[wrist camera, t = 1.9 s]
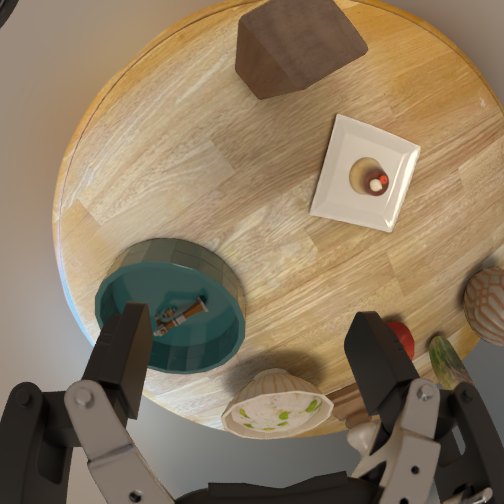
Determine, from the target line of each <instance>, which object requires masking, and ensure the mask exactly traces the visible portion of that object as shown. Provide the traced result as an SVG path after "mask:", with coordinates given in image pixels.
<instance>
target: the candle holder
mask: <svg viewBox="0 0 504 504" xmlns="http://www.w3.org/2000/svg"><path fill="white" fill-rule="evenodd" d="M326 397H327V398H328V399H329V400H330V401H331V402H332V403H333V404H334V406H333V409H332V414H333V415H334V416H335V417H336V418H338V419H339V420H340V421H342V420H346V422H345V425H346V427H347V428H349V429H351V430H350V431H349V432H348V434H347V441H348V443H349V444H350V445H351V446H352V447H354V448H355V449H357V450H358V451H359V452H360V453H361V460H360V461H362V459H363V457H364V455H365V453H366V451H367V448H368V446H369V443H370V441H371V438H372V436H373V433H374V431H375V428H376V425H377V424H376V423H374V422H370V421H371V419H372V416H368V413H367V410H366V407H365V404H364V402H363V399H362V396H361V393H360V391H359V388H358V385H357V383H355V384H353V385H350V386H348V387H346V388H343V389H341V390H339V391H336V392H334V393H331V394H329V395H327V396H326ZM359 464H360V463H359Z"/></svg>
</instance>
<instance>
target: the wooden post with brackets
mask: <svg viewBox="0 0 504 504" xmlns="http://www.w3.org/2000/svg"><path fill="white" fill-rule="evenodd" d="M196 298H197V299H198V300H197V301H196V302H195V303H194V304H193V305H192V306H190V307H189V308H188V309H187V310H185V311H184V312H180V313H179V314H178V315H176V316H175V317H174V318H173V317H172V318H171V320H170V321H168V322H163V321H161V320H162V319H165V318H168V319H169V318H170V317H171V316H173V315H175V312H176V311H177V310H176V308H173V309H171V307H170V309H169V310H167V311H166V312H165V310H164V316H163V315H162V317H160V318H161V320H160V318H159V317H158V315H155V316H154V319H155V321H156V323H157V325H158V327H157V328H155V329H156V331H154V335H155V336H158V335H159V336H161V335H164V334H166V332H168V331H167V330H169V329H171V328H172V327H174V326H178V325H177V324H179V325H180V324H181V323H182V322H184V321H186V319H187V318H188V317H190V316H192V315H194V314H196V313H198V312H201V311H203V310H205V312H207V311H208V310H207V308H206V307H205V305H204V304H203V302H202V300H201V299H200V297H199V296H198V297H196Z"/></svg>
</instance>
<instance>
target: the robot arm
mask: <svg viewBox="0 0 504 504" xmlns="http://www.w3.org/2000/svg"><path fill="white" fill-rule="evenodd" d="M5 2H6V0H0V11H1V9H2V7H3V5H4V4H5ZM152 344H153V332H152V326H151V320H150V313H149V307H148V304H147V303H140V302H130V301H128V302H127V303H126V305H125V307H124V310H123V312H122V314H113V315H112V316H111V317H110V318H109V319H108V320H107V321H106V322H105V323H104V325H103V327H102V330H101V332H100V335H99V337H98V339H97V341H96V344H95V346H94V349H93V351H92V354H91V356H90V359H89V361H88V364H87V367H86V369H85V372H84V375H83V377H82V379H81V380H80V381H77V382H75V383H73V384H72V385H71V386H70V387H69V388H68V389H67V390H66V391H58V392H41V390H40V389H39V388H38V386H37V385H35V384H33V383H31V382H23V383H20V384H18V385H16V386H15V387H14V388H13V389H12V391H11V393H10V395H9V398H8V401H7V403H6V406H5V409H4V412H3V415H2V418H1V422H0V504H66V498H67V488H68V480H69V472H70V465H71V458H72V451H73V447H83V450H84V452H85V454H86V456H87V458H88V462H87V466H88V469H89V471H90V473H91V475H92V477H93V479H94V481H95V483H96V484H97V486H98V488H99V490H100V492H101V493H102V495H103V496H104V498H105V500H106V502H107V503H108V504H426V501H427V498H428V495H429V492H430V489H431V485H432V482H433V478H434V480H435V484H436V487H437V491H438V495H439V499H440V503H441V504H504V448H503V446H502V443H501V440H500V438H499V435H498V433H497V431H496V428H495V426H494V424H493V422H492V419H491V417H490V415H489V413H488V411H487V409H486V406H485V404H484V402H483V400H482V398H481V396H480V394H479V392H478V391H477V389H476V388H475V387H474V386H473V385H472V384H470V383H468V382H461V383H459V384H458V385H457V386H456V387H455V388H454V389H453V390H441V389H438V387H437V386H436V385H435V384H434V383H433V382H432V381H430V380H428V379H426V378H420V376H419V374H418V372H417V371H416V369H415V367H414V365H413V363H412V361H411V359H410V358H409V356H408V354H407V352H406V350H404V347H403V345H402V343H400V340H399V338H398V336H397V335H396V333H395V331H394V330H393V329H392V328H391V327H389V326H388V325H387V324H386V323H383V322H382V320H381V318H380V316H379V315H378V313H377V312H375V311H365V312H357V313H356V315H355V317H354V319H353V322H352V324H351V326H350V329H349V331H348V333H347V335H346V337H345V341H344V350H345V354H346V356H347V359H348V362H349V364H350V367H351V369H352V372H353V375H354V377H355V380H356V383H357V385H358V388H359V391H360V393H361V396H362V399H363V402H364V404H365V407H366V410H367V413H368V416H373V415H378V414H379V415H380V418H381V419H380V420H379V421H378V423H377V425H376V428H375V431H374V433H373V436H372V438H371V441H370V443H369V446H368V448H367V451H366V453H365V455H364V457H363V459H362V461H361V462H360V464H359V465H358V466H357V467H356V469H355V470H354V472H353V473H352V475H351V477H347V474H346V471H342V472H337V473H332V474H327V475H321V476H315V477H313V478H311V479H308V480H305V481H303V482H300V483H297V484H294V485H292V486H289V487H286V488H272V487H264V486H259V485H253V484H247V483H208V485H209V486H208V488H204V489H199V490H196V491H192V492H190V493H187V494H185V495H183V496H181V497H179V498H177V499H176V500H175V499H174V498H173V497H172V496H171V494H170V493H169V492H168V491H167V489H166V488H165V487H164V485H163V484H162V483H161V481H160V480H159V479H158V477H157V476H156V475H155V473H154V472H153V471H152V469H151V468H150V466H149V465H148V464H147V462H146V460H145V459H144V458H143V456H142V455H141V453H140V451H139V450H138V448H137V447H136V445H135V443H134V442H133V440H132V439H131V437H130V435H129V433H128V432H127V430H126V425H127V420H128V418H130V419H135V420H137V417H138V411H139V406H140V400H141V395H142V391H143V386H144V381H145V376H146V372H147V367H148V363H149V358H150V354H151V350H152ZM457 425H458V427H459V429H460V432H461V435H462V437H463V440H464V442H465V445H466V448H465V452H464V454H463V455H461V454H460V451H459V448H458V446H457V443H456V440H455V438H454V435H453V432H452V429H454V428H455V427H456V426H457Z"/></svg>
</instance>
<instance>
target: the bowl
mask: <svg viewBox="0 0 504 504" xmlns="http://www.w3.org/2000/svg"><path fill="white" fill-rule="evenodd" d="M333 406H334V404H333V403H332V402H331V401H330V400H329V399H328V398H327V397H326V396H325V395H324V394H323V393H322V392H321V391H319V390H318V389H317V388H316V387H315V386H314V385H313V384H312V383H310V382H308V381H305V380H303V379H301V378H299V377H296V376H291V374H290V373H289V372H288V371H287V370H283V369H279V368H275V369H267V370H264V371H262V372H260V373H258V374H257V375H256V376H255V377H254V381H251V382H250V383H249V384H248V385H247V386H246V387H245V388H243V389H242V390H241V391H240V392H239V393H238V394H237V395H236V396H235V398H234V399H233V400H232V401H231V402H230V403H229V404H228V406H227V408H226V409H225V411H224V413H223V414H222V416H221V420H222V423H223V426H224V429H225V430H227V431H229V432H232V433H234V434H236V435H238V436H240V437H246V438H254V439H263V440H265V439H275V438H284V437H290V436H293V435H296V434H299V433H302V432H305V431H308V430H311V429H313V428H315V427H316V426H318V425H319V424H320V423H322V422H323V421H325V420H326V419H327V418H329V417H330V414H331V412H332V409H333Z"/></svg>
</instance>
